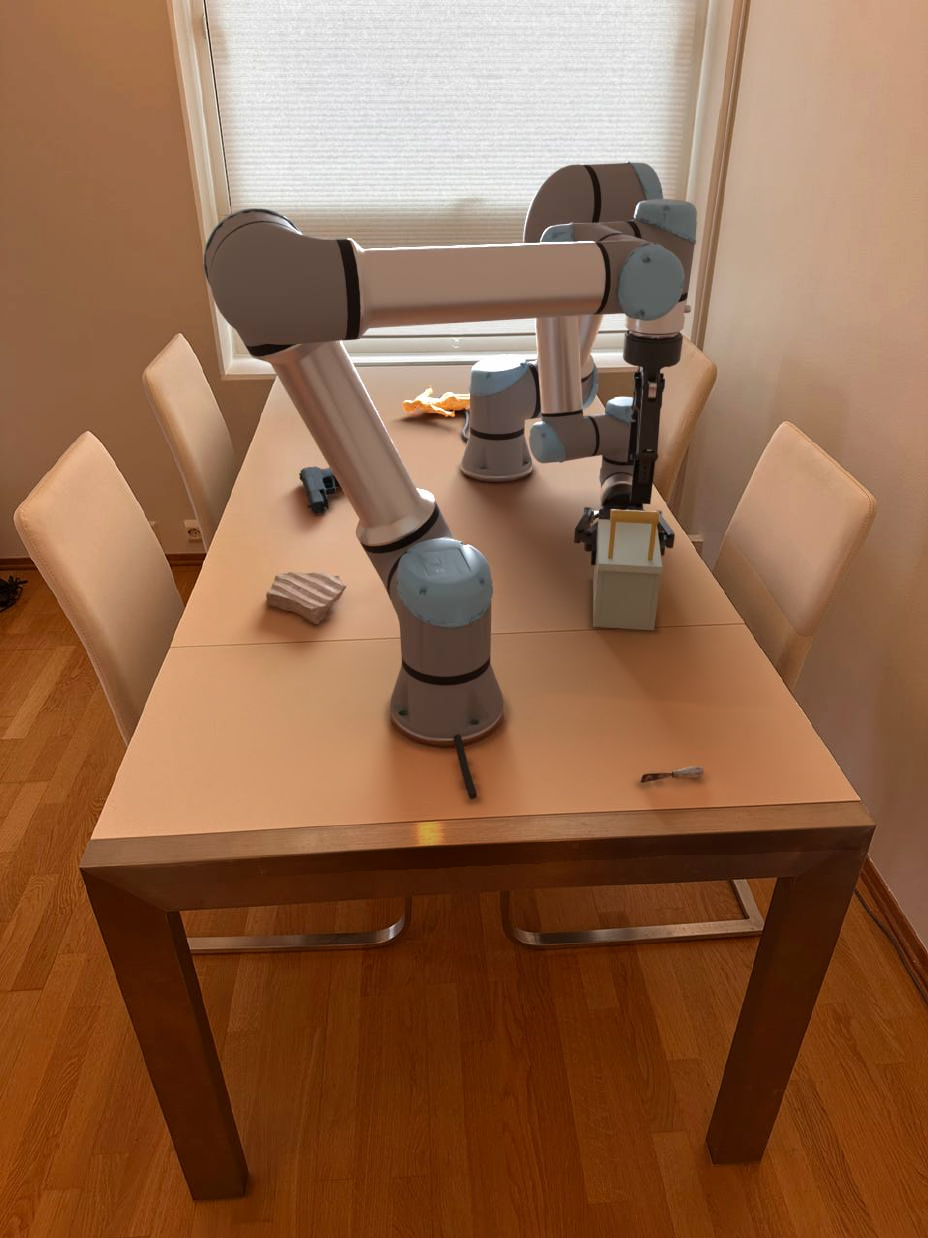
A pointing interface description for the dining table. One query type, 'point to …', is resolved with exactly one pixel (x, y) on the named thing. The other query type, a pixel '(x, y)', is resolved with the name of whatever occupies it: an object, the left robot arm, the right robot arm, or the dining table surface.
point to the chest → (624, 599)
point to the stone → (305, 593)
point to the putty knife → (674, 774)
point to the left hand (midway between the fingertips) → (638, 483)
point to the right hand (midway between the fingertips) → (625, 559)
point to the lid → (629, 542)
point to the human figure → (438, 403)
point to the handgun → (318, 487)
